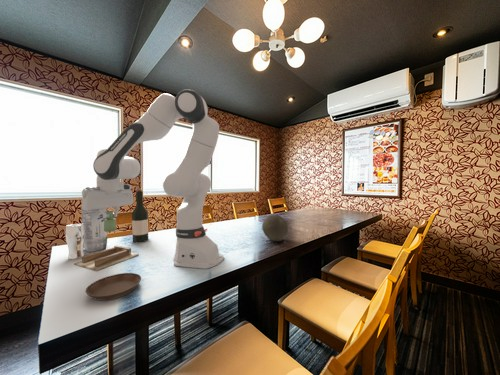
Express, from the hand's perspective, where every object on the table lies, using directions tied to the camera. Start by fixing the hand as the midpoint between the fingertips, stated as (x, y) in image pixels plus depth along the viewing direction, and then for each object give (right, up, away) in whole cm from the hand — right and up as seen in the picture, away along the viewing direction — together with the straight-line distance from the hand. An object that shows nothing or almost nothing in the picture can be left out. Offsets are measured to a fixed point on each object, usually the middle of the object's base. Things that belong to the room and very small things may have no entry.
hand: (110, 217), depth 90 cm
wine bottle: (-2, -18, +30) cm, 35 cm away
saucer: (+19, -20, -25) cm, 37 cm away
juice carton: (-18, -19, +15) cm, 30 cm away
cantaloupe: (+77, -18, +26) cm, 83 cm away
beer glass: (-18, -19, +4) cm, 27 cm away
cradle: (-1, -19, 0) cm, 19 cm away
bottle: (0, -6, 0) cm, 6 cm away
